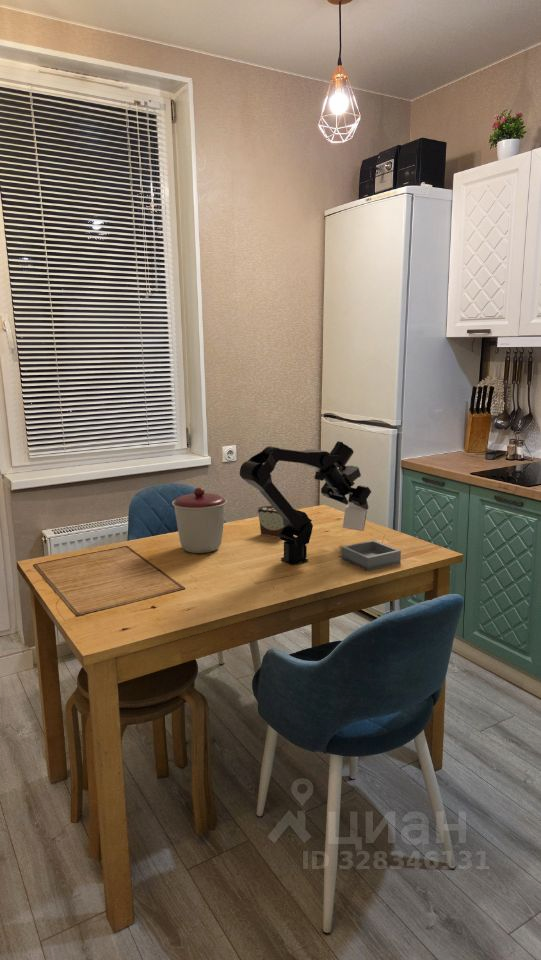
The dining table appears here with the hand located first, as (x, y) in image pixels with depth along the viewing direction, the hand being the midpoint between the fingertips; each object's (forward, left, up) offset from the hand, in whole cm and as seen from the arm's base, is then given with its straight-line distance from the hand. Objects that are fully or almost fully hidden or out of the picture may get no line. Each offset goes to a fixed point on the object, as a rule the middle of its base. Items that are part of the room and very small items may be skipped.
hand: (357, 506), depth 209 cm
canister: (-47, +24, -13) cm, 55 cm away
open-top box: (-7, -16, -13) cm, 22 cm away
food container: (-17, +25, -13) cm, 33 cm away
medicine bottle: (-2, 0, -8) cm, 8 cm away
